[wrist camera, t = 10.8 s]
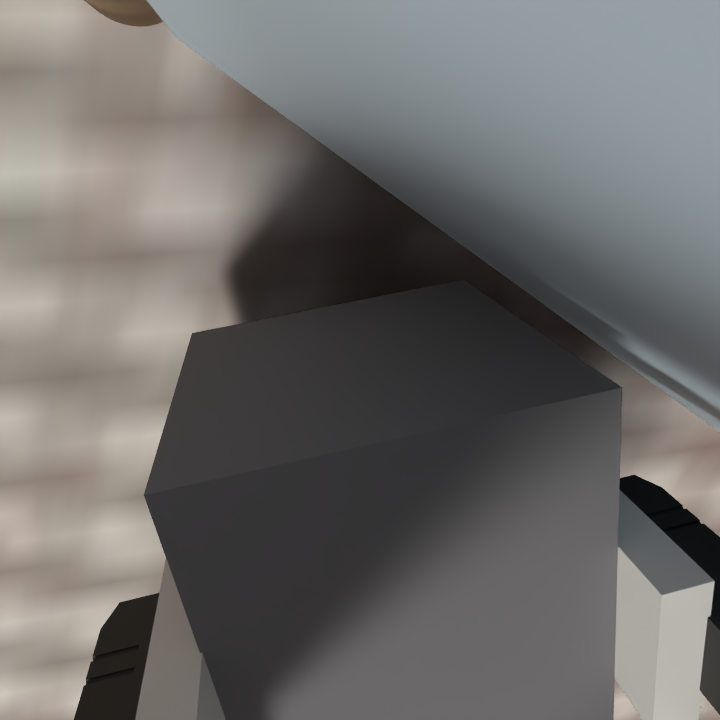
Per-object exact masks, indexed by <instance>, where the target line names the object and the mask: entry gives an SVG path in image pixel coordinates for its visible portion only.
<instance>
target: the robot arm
mask: <svg viewBox="0 0 720 720" xmlns="http://www.w3.org/2000/svg"><path fill="white" fill-rule="evenodd" d="M614 678H615V680H616V681H617V683H618V684H619V686H620V687H621V689H622V690H623V692H624V693H625V694H626V696H627V697H628V699H629V700H630V702H631V703H632V705H633V706H634V708H635V709H636V711H637V712H638V714H639V715H640V717H641V718H642V720H699V712H700V703H701V695H702V694H703V695H704V696H705V697H706V698H707V700H708V701H709V702H710V703H711V705H712V706H713V707H714V708H715V710H716V711H717V712H718V713H719V715H720V537H719V536H718V535H716V534H715V533H714V532H713V531H712V530H711V529H709V528H708V527H707V526H706V525H705V524H701V523H700V521H699V519H698V518H697V517H695V516H694V515H693V514H692V513H691V512H690V511H688V510H687V509H683V507H682V505H681V504H680V503H679V502H678V501H677V500H676V499H674V498H673V497H672V496H671V495H670V494H669V493H668V492H666V491H665V490H664V489H663V488H662V487H659V486H657V485H655V484H653V483H651V482H649V481H646V480H644V479H642V478H640V477H638V476H636V475H632V476H628V477H624V478H620V483H619V522H618V560H617V598H616V636H615V675H614ZM74 720H226V719H225V716H224V713H223V710H222V707H221V704H220V702H219V699H218V696H217V693H216V690H215V687H214V684H213V682H212V679H211V676H210V673H209V670H208V667H207V664H206V662H205V659H204V656H203V653H200V652H199V649H198V646H197V643H196V641H195V638H194V635H193V632H192V629H191V626H190V624H189V621H188V618H187V615H186V612H185V609H184V607H183V604H182V601H181V598H180V595H179V593H178V590H177V587H176V584H175V581H174V578H173V576H172V573H171V570H170V567H169V564H168V561H167V559H166V562H165V567H164V572H163V577H162V583H161V588H160V593H157V594H153V595H149V596H145V597H141V598H136V599H132V600H128V601H124V602H120V603H119V604H118V606H117V607H116V609H115V610H114V611H113V613H112V614H111V616H110V617H109V618H108V620H107V621H106V622H105V624H104V625H103V627H102V628H101V630H100V633H99V637H98V640H97V644H96V647H95V650H94V654H93V662H91V664H90V667H89V670H88V674H87V677H86V685H85V686H84V687H83V691H82V694H81V697H80V701H79V704H78V708H77V711H76V714H75V718H74Z"/></svg>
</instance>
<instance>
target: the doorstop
mask: <svg viewBox="0 0 720 720" xmlns="http://www.w3.org/2000/svg"><path fill="white" fill-rule="evenodd" d="M621 407H622V387H620V386H619V385H617V384H616V383H614V382H613V381H612V380H610V379H609V378H607V377H606V376H604V375H603V374H601V373H600V372H598V371H597V370H595V369H594V368H592V367H591V366H589V365H588V364H586V363H585V362H584V361H582V360H581V359H579V358H578V357H576V356H575V355H573V354H572V353H570V352H569V351H567V350H566V349H564V348H563V347H561V346H560V345H558V344H557V343H556V342H554V341H553V340H551V339H550V338H548V337H547V336H545V335H544V334H542V333H541V332H539V331H538V330H536V329H535V328H533V327H532V326H530V325H529V324H528V323H526V322H525V321H523V320H522V319H520V318H519V317H517V316H516V315H514V314H513V313H511V312H510V311H508V310H507V309H505V308H504V307H502V306H501V305H500V304H498V303H497V302H495V301H494V300H492V299H491V298H489V297H488V296H486V295H485V294H483V293H482V292H480V291H479V290H477V289H476V288H474V287H473V286H472V285H470V284H469V283H467V282H466V281H464V280H460V281H455V282H450V283H444V284H439V285H434V286H429V287H424V288H419V289H414V290H409V291H404V292H399V293H394V294H389V295H384V296H379V297H374V298H368V299H363V300H358V301H353V302H348V303H343V304H338V305H333V306H328V307H323V308H318V309H313V310H308V311H303V312H298V313H292V314H287V315H282V316H277V317H272V318H267V319H262V320H257V321H252V322H247V323H242V324H237V325H232V326H227V327H222V328H216V329H211V330H206V331H201V332H196V333H192V335H191V339H190V342H189V346H188V349H187V352H186V356H185V359H184V362H183V366H182V369H181V372H180V376H179V379H178V382H177V386H176V389H175V393H174V396H173V399H172V403H171V406H170V409H169V413H168V416H167V419H166V423H165V426H164V429H163V433H162V436H161V439H160V443H159V446H158V450H157V453H156V456H155V460H154V463H153V466H152V470H151V473H150V476H149V480H148V483H147V486H146V490H145V493H144V496H145V499H146V502H147V505H148V508H149V511H150V513H151V516H152V519H153V522H154V525H155V528H156V530H157V533H158V536H159V539H160V542H161V544H162V547H163V550H164V553H165V556H166V559H167V561H168V564H169V567H170V570H171V573H172V576H173V578H174V581H175V584H176V587H177V590H178V593H179V595H180V598H181V601H182V604H183V607H184V609H185V612H186V615H187V618H188V621H189V624H190V626H191V629H192V632H193V635H194V638H195V641H196V643H197V646H198V649H199V652H200V653H203V656H204V659H205V662H206V664H207V667H208V670H209V673H210V676H211V679H212V682H213V684H214V687H215V690H216V693H217V696H218V699H219V702H220V704H221V707H222V710H223V713H224V716H225V719H226V720H613V713H614V675H615V636H616V598H617V560H618V522H619V483H620V445H621Z"/></svg>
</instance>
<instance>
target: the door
mask: <svg viewBox="0 0 720 720" xmlns="http://www.w3.org/2000/svg"><path fill="white" fill-rule="evenodd" d="M147 1H148V3H149V4H150V5H151V6H152V8H153V9H154V10H155V12H156V13H157V14H158V15H159V17H160V18H161V19H162V20H163V22H164V23H165V24H166V26H167V27H168V28H169V29H170V31H171V32H172V33H173V34H174V36H175V37H176V38H177V39H178V40H180V41H181V42H183V43H184V44H185V45H187V46H188V47H190V48H191V49H192V50H194V51H195V52H196V53H198V54H199V55H201V56H202V57H203V58H205V59H206V60H207V61H209V62H210V63H212V64H213V65H214V66H216V67H217V68H218V69H220V70H221V71H223V72H224V73H225V74H227V75H228V76H229V77H231V78H232V79H234V80H235V81H236V82H238V83H239V84H240V85H242V86H243V87H245V88H246V89H247V90H249V91H250V92H252V93H253V94H254V95H256V96H257V97H258V98H260V99H261V100H263V101H264V102H265V103H267V104H268V105H269V106H271V107H272V108H274V109H275V110H276V111H278V112H279V113H280V114H282V115H283V116H285V117H286V118H287V119H289V120H290V121H291V122H293V123H294V124H296V125H297V126H298V127H300V128H301V129H302V130H304V131H305V132H307V133H308V134H309V135H311V136H312V137H314V138H315V139H316V140H318V141H319V142H320V143H322V144H323V145H325V146H326V147H327V148H329V149H330V150H331V151H333V152H334V153H336V154H337V155H338V156H340V157H341V158H342V159H344V160H345V161H347V162H348V163H349V164H351V165H352V166H353V167H355V168H356V169H358V170H359V171H360V172H362V173H363V174H364V175H366V176H367V177H369V178H370V179H371V180H373V181H374V182H376V183H377V184H378V185H380V186H381V187H382V188H384V189H385V190H387V191H388V192H389V193H391V194H392V195H393V196H395V197H396V198H398V199H399V200H400V201H402V202H403V203H404V204H406V205H407V206H409V207H410V208H411V209H413V210H414V211H415V212H417V213H418V214H420V215H421V216H422V217H424V218H425V219H426V220H428V221H429V222H431V223H432V224H433V225H435V226H436V227H438V228H439V229H440V230H442V231H443V232H444V233H446V234H447V235H449V236H450V237H451V238H453V239H454V240H455V241H457V242H458V243H460V244H461V245H462V246H464V247H465V248H466V249H468V250H469V251H471V252H472V253H473V254H475V255H476V256H477V257H479V258H480V259H482V260H483V261H484V262H486V263H487V264H488V265H490V266H491V267H493V268H494V269H495V270H497V271H498V272H500V273H501V274H502V275H504V276H505V277H506V278H508V279H509V280H511V281H512V282H513V283H515V284H516V285H517V286H519V287H520V288H522V289H523V290H524V291H526V292H527V293H528V294H530V295H531V296H533V297H534V298H535V299H537V300H538V301H539V302H541V303H542V304H544V305H545V306H546V307H548V308H549V309H550V310H552V311H553V312H555V313H556V314H557V315H559V316H560V317H562V318H563V319H564V320H566V321H567V322H568V323H570V324H571V325H573V326H574V327H575V328H577V329H578V330H579V331H581V332H582V333H584V334H585V335H586V336H588V337H589V338H590V339H592V340H593V341H595V342H596V343H597V344H599V345H600V346H601V347H603V348H604V349H606V350H607V351H608V352H610V353H611V354H612V355H614V356H615V357H617V358H618V359H619V360H621V361H622V362H624V363H625V364H626V365H628V366H629V367H630V368H632V369H633V370H635V371H636V372H637V373H639V374H640V375H641V376H643V377H644V378H646V379H647V380H648V381H650V382H651V383H652V384H654V385H655V386H657V387H658V388H659V389H661V390H662V391H663V392H665V393H666V394H668V395H669V396H670V397H672V398H673V399H675V400H676V401H677V402H679V403H680V404H681V405H683V406H684V407H686V408H687V409H688V410H690V411H691V412H692V413H694V414H695V415H697V416H698V417H699V418H701V419H702V420H703V421H705V422H706V423H708V424H709V425H710V426H712V427H713V428H714V429H716V430H717V431H719V432H720V0H147Z"/></svg>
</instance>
